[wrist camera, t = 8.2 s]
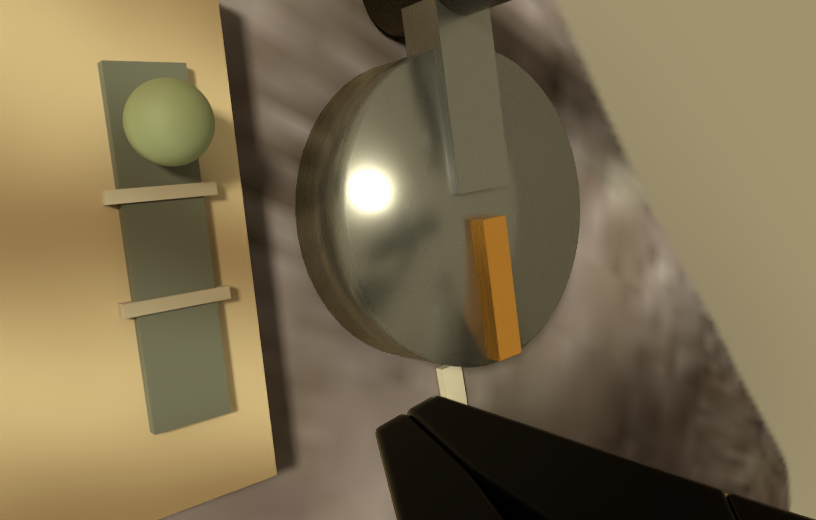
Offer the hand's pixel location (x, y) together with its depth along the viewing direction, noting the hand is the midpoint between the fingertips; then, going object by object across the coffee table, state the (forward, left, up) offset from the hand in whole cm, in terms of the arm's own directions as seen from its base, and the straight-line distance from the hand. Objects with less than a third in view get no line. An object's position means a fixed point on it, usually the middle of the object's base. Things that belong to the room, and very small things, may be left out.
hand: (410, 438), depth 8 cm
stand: (+2, +2, -10) cm, 11 cm away
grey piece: (+4, -9, -10) cm, 14 cm away
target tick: (-4, -10, -10) cm, 15 cm away
